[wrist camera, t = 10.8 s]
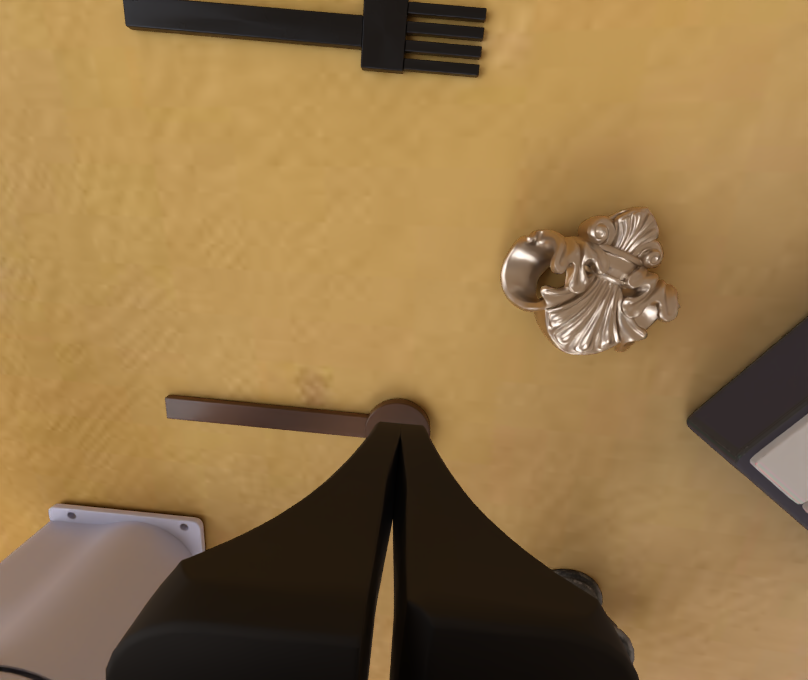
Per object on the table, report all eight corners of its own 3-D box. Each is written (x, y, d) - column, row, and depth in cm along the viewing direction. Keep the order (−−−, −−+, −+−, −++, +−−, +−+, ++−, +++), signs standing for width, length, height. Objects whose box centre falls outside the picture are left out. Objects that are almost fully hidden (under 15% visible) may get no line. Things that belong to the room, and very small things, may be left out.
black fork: (133, 50, 17) (127, 46, 17) (126, -23, 17) (119, -29, 16) (477, 80, 17) (478, 77, 17) (486, 8, 16) (487, 3, 16)
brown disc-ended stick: (172, 432, 23) (166, 438, 23) (167, 375, 22) (160, 380, 22) (426, 457, 23) (426, 464, 22) (433, 401, 22) (433, 406, 21)
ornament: (695, 242, 19) (757, 249, 15) (615, 366, 21) (654, 397, 17) (545, 171, 18) (574, 161, 15) (477, 306, 20) (489, 325, 17)
